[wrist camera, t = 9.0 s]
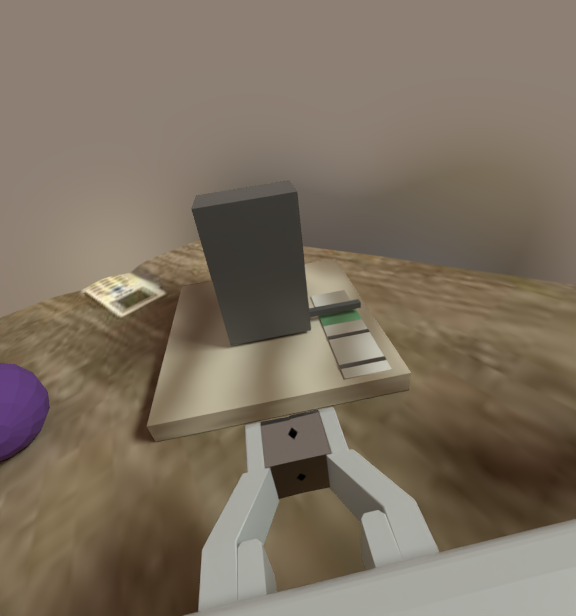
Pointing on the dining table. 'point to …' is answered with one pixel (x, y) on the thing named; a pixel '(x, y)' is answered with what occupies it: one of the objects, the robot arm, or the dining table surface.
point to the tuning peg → (258, 261)
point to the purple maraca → (20, 408)
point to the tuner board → (270, 362)
